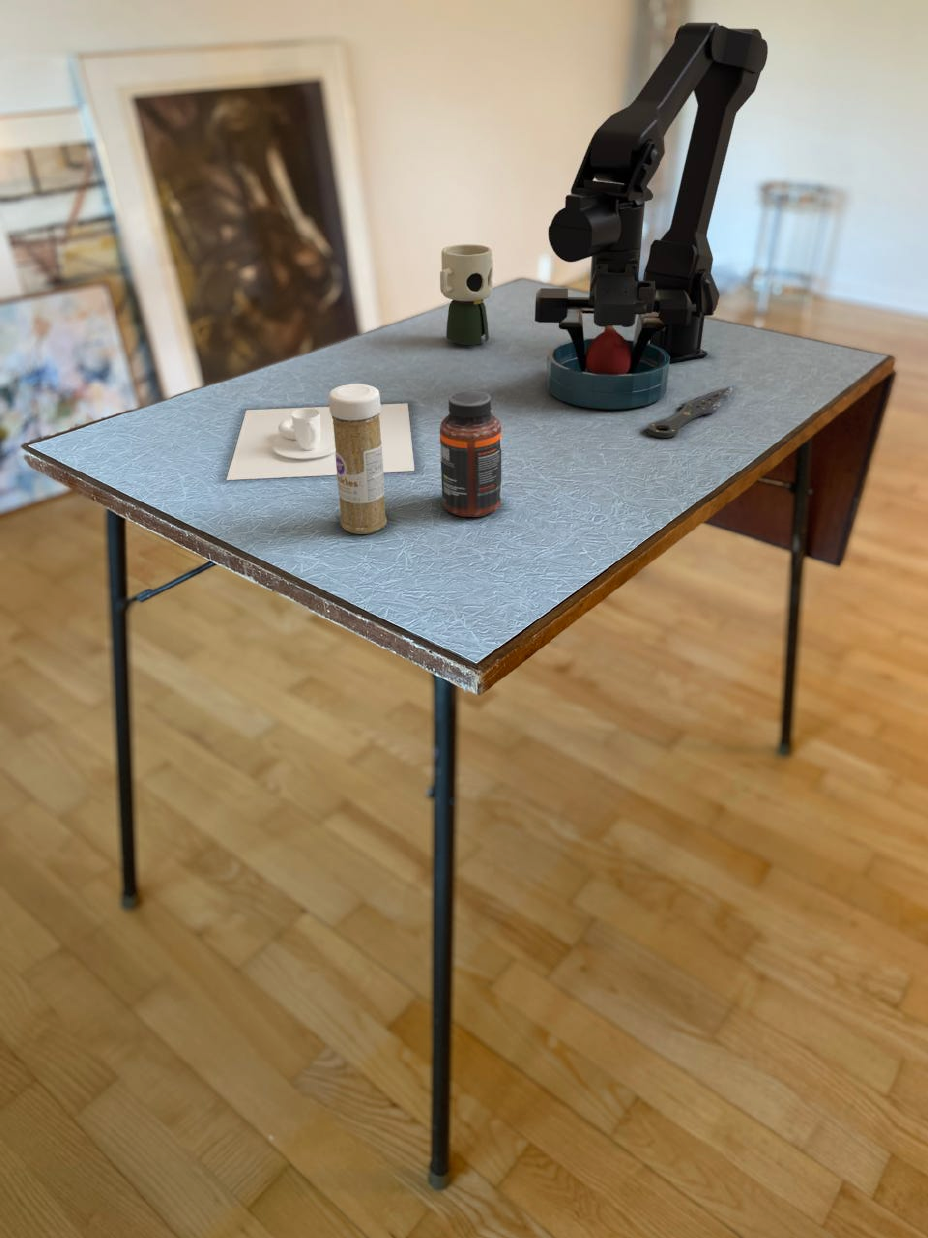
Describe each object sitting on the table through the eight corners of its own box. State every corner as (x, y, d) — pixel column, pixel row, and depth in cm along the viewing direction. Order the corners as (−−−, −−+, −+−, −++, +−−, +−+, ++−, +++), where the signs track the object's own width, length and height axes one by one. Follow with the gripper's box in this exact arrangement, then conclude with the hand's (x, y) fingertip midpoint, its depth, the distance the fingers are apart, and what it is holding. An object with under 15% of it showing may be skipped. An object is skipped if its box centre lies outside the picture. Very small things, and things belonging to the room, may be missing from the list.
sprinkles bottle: (331, 526, 90) (317, 392, 83) (364, 509, 93) (354, 378, 86) (364, 540, 88) (353, 403, 80) (398, 523, 91) (390, 389, 83)
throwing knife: (638, 431, 108) (638, 426, 108) (718, 384, 121) (718, 379, 121) (671, 440, 106) (672, 435, 106) (749, 391, 119) (750, 386, 118)
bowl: (623, 363, 129) (626, 331, 126) (689, 399, 117) (694, 364, 115) (525, 380, 123) (526, 347, 121) (585, 420, 112) (587, 383, 109)
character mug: (461, 356, 132) (460, 260, 125) (424, 346, 136) (421, 252, 129) (509, 337, 139) (511, 245, 132) (473, 328, 143) (472, 239, 135)
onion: (627, 379, 122) (633, 318, 118) (629, 395, 117) (635, 331, 113) (583, 378, 123) (586, 317, 118) (583, 394, 118) (587, 330, 113)
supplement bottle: (510, 499, 95) (512, 391, 88) (486, 524, 90) (487, 412, 84) (457, 488, 97) (455, 382, 90) (431, 513, 92) (427, 403, 86)
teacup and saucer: (276, 432, 110) (271, 399, 107) (344, 429, 110) (341, 396, 108) (269, 464, 102) (265, 428, 100) (342, 460, 103) (339, 425, 101)
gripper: (535, 261, 105) (531, 395, 113) (705, 263, 103) (687, 399, 112) (538, 239, 114) (534, 365, 122) (693, 240, 112) (678, 368, 121)
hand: (606, 374), depth 119 cm, fingers closed on onion, 6 cm apart
